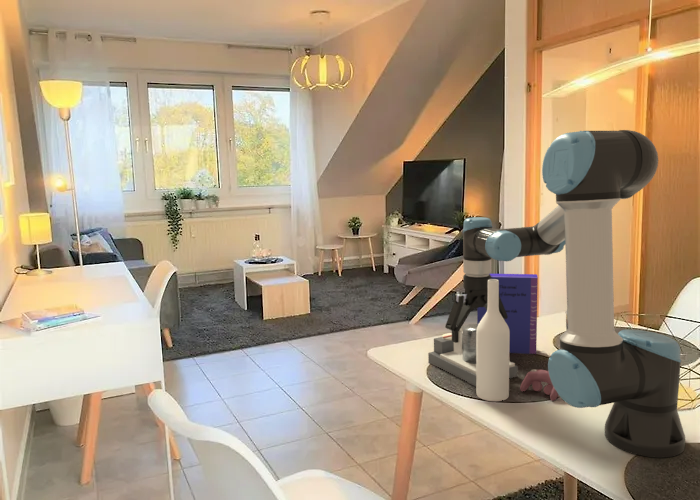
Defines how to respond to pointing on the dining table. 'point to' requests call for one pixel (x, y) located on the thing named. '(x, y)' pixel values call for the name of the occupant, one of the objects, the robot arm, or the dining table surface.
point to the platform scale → (457, 360)
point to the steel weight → (469, 343)
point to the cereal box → (518, 310)
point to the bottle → (492, 350)
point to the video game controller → (539, 383)
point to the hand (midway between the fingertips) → (477, 348)
